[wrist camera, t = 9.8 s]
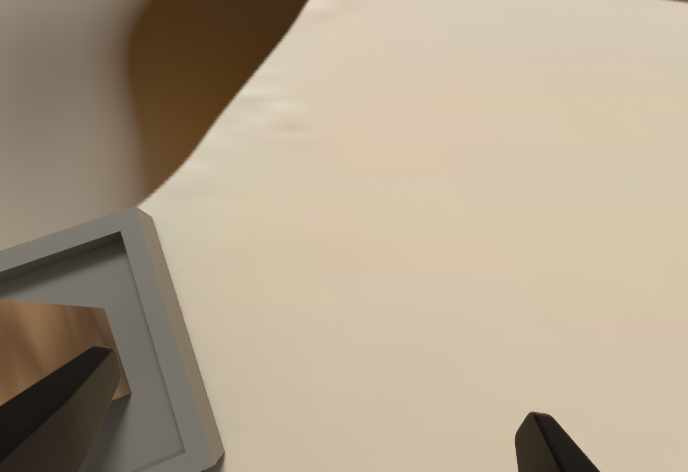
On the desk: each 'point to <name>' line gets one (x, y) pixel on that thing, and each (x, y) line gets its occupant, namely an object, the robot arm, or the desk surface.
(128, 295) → the tray
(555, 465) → the robot arm
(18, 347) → the block
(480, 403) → the desk surface
